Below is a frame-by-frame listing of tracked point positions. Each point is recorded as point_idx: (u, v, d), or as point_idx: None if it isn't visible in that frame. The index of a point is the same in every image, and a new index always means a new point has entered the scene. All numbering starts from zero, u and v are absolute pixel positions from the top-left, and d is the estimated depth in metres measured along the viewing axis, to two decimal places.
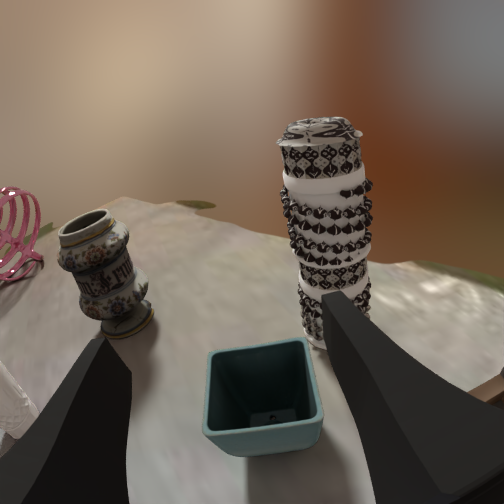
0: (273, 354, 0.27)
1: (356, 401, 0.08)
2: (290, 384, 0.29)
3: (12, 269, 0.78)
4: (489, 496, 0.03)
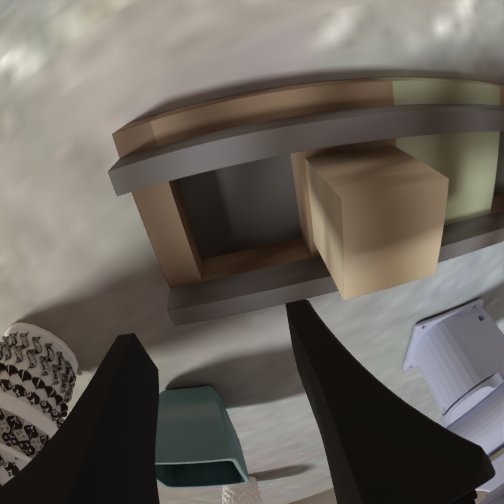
0: None
1: (317, 412, 0.08)
2: None
3: None
4: None
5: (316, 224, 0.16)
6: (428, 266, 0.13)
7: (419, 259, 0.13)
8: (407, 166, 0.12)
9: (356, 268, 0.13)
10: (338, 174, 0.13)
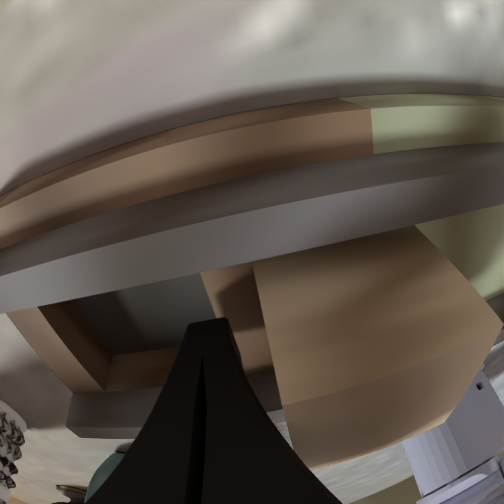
0: None
1: None
2: None
3: None
4: None
5: None
6: (436, 421, 0.07)
7: (423, 421, 0.07)
8: (431, 285, 0.06)
9: (317, 453, 0.07)
10: (296, 313, 0.07)
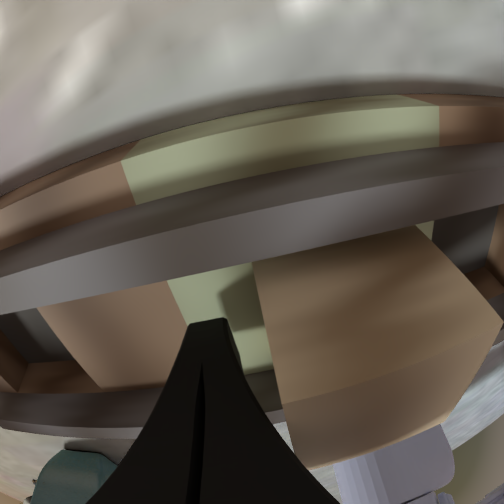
0: None
1: None
2: None
3: None
4: None
5: None
6: (436, 420, 0.07)
7: (423, 420, 0.07)
8: (431, 283, 0.06)
9: (317, 452, 0.07)
10: (296, 312, 0.07)
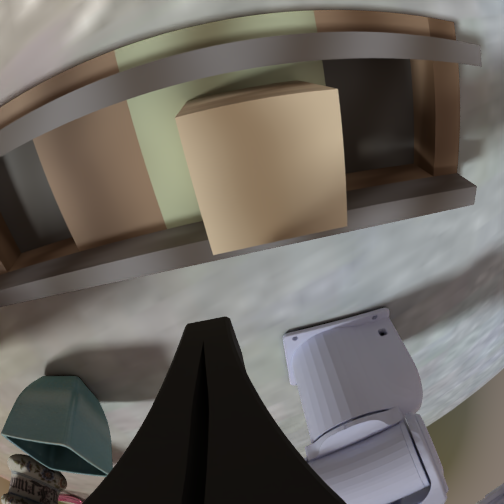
0: None
1: None
2: None
3: (72, 501, 0.68)
4: None
5: None
6: (332, 213, 0.11)
7: (313, 202, 0.11)
8: (292, 87, 0.10)
9: (218, 211, 0.10)
10: (200, 103, 0.10)
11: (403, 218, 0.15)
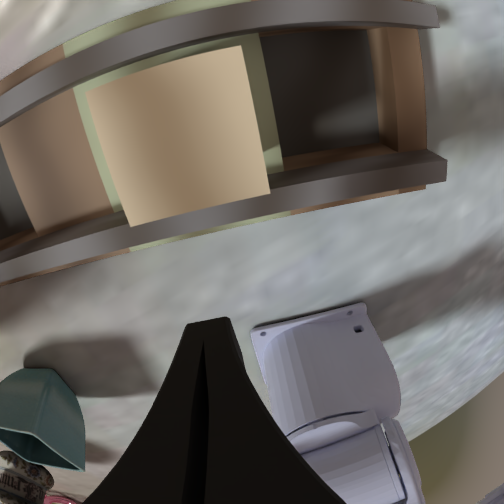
0: (0, 428, 0.19)
1: None
2: None
3: (67, 503, 0.66)
4: None
5: None
6: (250, 179, 0.10)
7: (227, 166, 0.10)
8: None
9: (129, 180, 0.10)
10: None
11: (359, 195, 0.14)
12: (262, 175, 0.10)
